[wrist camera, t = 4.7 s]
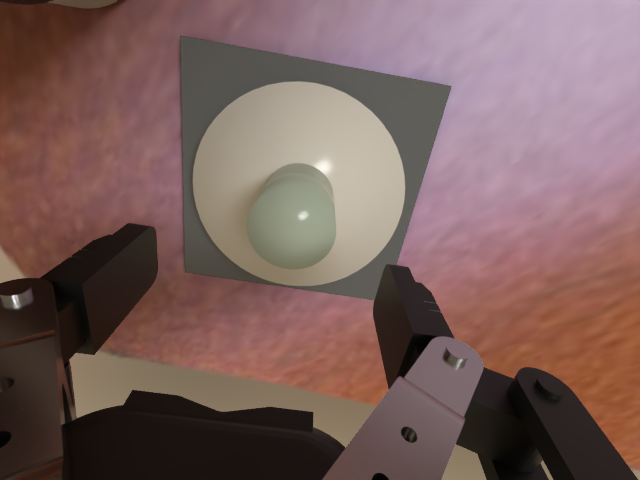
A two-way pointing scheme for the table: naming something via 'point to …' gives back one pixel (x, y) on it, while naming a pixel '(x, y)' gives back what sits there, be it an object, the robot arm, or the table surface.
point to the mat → (269, 68)
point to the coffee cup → (67, 2)
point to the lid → (298, 183)
